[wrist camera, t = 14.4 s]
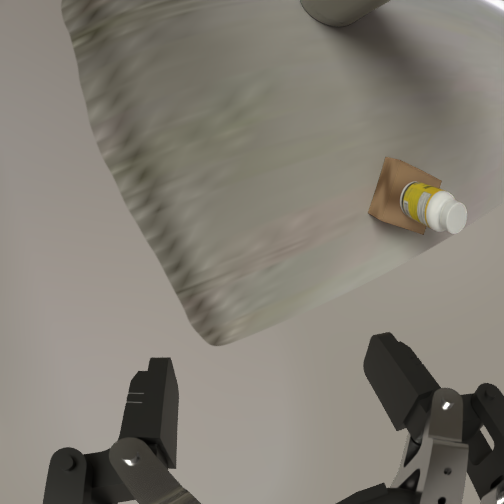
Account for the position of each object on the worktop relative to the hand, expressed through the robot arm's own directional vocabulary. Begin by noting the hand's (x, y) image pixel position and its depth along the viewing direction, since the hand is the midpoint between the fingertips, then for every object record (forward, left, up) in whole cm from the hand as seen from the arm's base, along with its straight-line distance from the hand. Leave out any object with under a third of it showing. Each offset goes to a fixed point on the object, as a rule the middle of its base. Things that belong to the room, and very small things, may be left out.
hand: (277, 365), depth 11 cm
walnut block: (-7, +25, -30) cm, 40 cm away
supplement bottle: (-7, +25, -26) cm, 37 cm away
